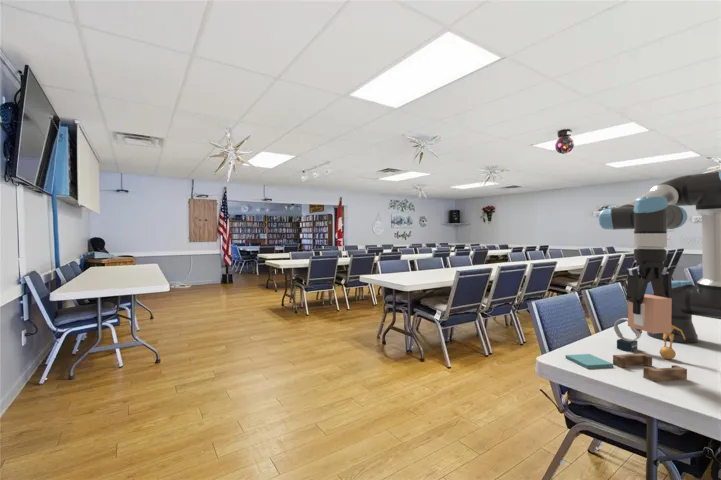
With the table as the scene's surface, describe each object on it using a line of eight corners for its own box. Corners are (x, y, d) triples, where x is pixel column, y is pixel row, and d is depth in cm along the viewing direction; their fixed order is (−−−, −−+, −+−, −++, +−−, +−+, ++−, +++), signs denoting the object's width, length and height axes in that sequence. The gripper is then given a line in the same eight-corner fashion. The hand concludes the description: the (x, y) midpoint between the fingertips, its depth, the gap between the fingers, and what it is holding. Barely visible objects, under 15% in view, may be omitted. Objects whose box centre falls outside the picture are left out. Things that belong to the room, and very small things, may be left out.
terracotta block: (644, 325, 107) (644, 293, 107) (671, 332, 99) (671, 298, 99) (627, 326, 106) (628, 294, 106) (653, 333, 98) (653, 299, 98)
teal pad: (589, 356, 115) (589, 353, 115) (612, 367, 106) (612, 363, 106) (565, 358, 113) (565, 355, 113) (587, 368, 104) (587, 365, 104)
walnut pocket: (642, 362, 110) (642, 353, 110) (686, 379, 97) (687, 369, 97) (612, 364, 108) (613, 354, 108) (653, 381, 95) (653, 371, 95)
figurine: (650, 356, 115) (650, 321, 115) (653, 352, 119) (653, 318, 119) (683, 363, 109) (684, 326, 109) (685, 359, 113) (686, 323, 113)
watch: (637, 353, 118) (638, 322, 118) (611, 347, 125) (611, 317, 125) (644, 350, 121) (644, 320, 121) (617, 344, 128) (618, 315, 128)
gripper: (664, 247, 107) (663, 320, 107) (611, 247, 104) (610, 322, 105) (690, 248, 100) (689, 326, 100) (634, 248, 97) (633, 329, 97)
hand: (648, 324), depth 102 cm, fingers closed on terracotta block, 6 cm apart
